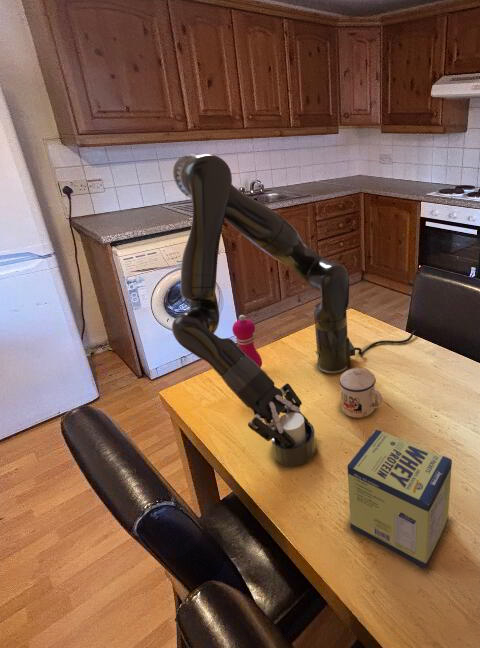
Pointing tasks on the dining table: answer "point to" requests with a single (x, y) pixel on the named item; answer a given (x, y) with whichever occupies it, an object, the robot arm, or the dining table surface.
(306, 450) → the dark round open container
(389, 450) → the protein box
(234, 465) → the dining table surface
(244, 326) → the pepper mill
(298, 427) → the plain white cylinder
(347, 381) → the teacup with lid
